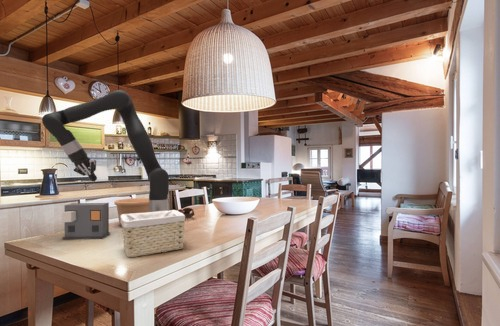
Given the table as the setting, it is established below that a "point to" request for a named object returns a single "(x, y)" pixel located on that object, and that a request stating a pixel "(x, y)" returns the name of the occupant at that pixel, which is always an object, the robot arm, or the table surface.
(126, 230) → the storage basket
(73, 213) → the cream paddle
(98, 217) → the orange paddle
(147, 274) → the table surface
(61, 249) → the table surface
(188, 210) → the pottery mug
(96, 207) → the switch box
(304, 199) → the table surface
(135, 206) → the pottery
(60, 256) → the table surface
